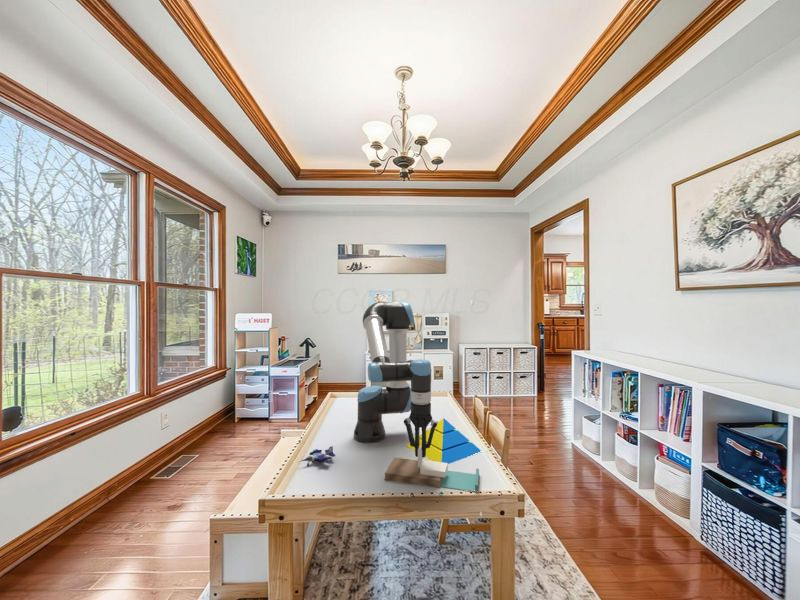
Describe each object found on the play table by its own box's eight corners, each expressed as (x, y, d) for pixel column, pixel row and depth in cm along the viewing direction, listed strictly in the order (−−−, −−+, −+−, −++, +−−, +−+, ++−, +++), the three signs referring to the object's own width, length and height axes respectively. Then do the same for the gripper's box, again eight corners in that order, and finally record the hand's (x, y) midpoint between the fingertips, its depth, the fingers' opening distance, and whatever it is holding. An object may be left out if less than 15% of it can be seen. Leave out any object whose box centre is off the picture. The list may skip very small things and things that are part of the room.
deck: (384, 479, 125) (384, 473, 125) (394, 463, 138) (394, 457, 138) (439, 487, 120) (439, 480, 120) (444, 470, 133) (444, 463, 133)
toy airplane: (294, 469, 132) (294, 460, 132) (310, 454, 146) (310, 445, 146) (325, 473, 130) (326, 463, 130) (339, 457, 144) (339, 448, 144)
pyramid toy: (441, 469, 135) (441, 433, 135) (403, 447, 155) (404, 415, 155) (484, 453, 149) (484, 420, 149) (445, 434, 170) (445, 406, 170)
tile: (420, 474, 125) (420, 468, 125) (424, 465, 131) (424, 460, 131) (445, 477, 122) (445, 472, 122) (447, 468, 129) (447, 463, 129)
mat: (439, 487, 121) (439, 479, 121) (444, 470, 132) (444, 464, 132) (477, 492, 117) (477, 485, 117) (478, 475, 129) (479, 468, 129)
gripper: (401, 403, 127) (400, 467, 126) (436, 406, 123) (436, 472, 123) (406, 397, 134) (406, 458, 134) (439, 400, 130) (439, 463, 130)
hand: (420, 465), depth 128 cm, fingers closed
